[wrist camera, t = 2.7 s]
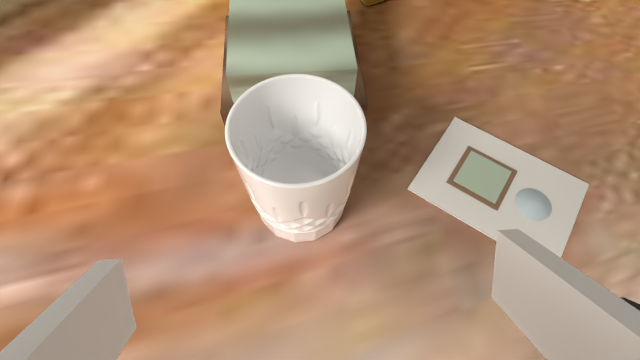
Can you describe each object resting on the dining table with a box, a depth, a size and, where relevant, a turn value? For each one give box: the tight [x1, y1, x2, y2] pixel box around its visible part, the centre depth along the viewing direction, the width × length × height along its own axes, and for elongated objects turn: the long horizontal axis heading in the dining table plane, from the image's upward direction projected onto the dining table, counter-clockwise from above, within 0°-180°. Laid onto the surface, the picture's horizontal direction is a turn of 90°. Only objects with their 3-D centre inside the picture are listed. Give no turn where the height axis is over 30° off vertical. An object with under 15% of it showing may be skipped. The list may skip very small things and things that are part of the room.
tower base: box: [220, 0, 368, 125], centre depth 33 cm, size 12×12×6 cm
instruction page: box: [407, 117, 589, 257], centre depth 30 cm, size 12×9×1 cm
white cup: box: [225, 74, 367, 242], centre depth 25 cm, size 8×8×10 cm
